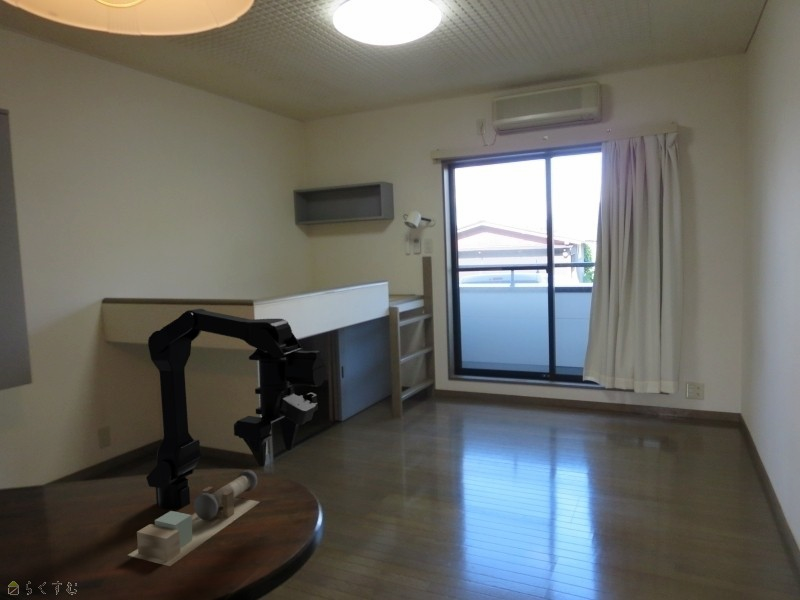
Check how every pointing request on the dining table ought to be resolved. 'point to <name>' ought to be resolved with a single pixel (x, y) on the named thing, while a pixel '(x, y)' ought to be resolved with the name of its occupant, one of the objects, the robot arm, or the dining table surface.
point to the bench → (166, 543)
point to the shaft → (210, 503)
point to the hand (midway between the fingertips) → (276, 457)
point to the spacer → (177, 525)
